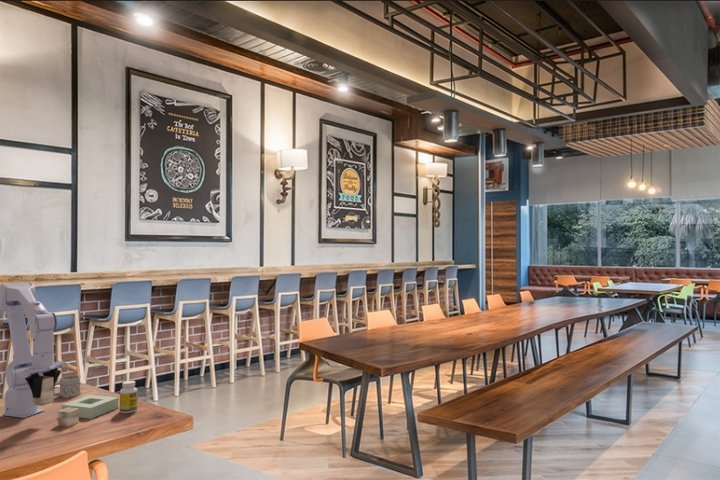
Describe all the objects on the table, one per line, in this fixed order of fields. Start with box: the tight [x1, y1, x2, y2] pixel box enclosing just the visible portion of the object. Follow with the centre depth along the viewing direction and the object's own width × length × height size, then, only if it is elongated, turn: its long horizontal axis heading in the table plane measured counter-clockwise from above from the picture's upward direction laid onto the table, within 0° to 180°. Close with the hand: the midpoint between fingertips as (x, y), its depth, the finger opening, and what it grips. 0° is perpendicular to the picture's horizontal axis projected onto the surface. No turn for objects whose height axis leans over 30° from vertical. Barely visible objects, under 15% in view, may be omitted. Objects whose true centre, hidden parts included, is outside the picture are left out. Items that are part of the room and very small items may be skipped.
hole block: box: [61, 394, 119, 420], centre depth 179 cm, size 12×12×4 cm
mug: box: [53, 374, 81, 399], centre depth 197 cm, size 10×7×7 cm
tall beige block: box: [32, 376, 54, 407], centre depth 167 cm, size 4×4×8 cm
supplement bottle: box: [119, 380, 138, 414], centre depth 179 cm, size 5×5×10 cm
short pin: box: [57, 407, 80, 428], centre depth 167 cm, size 4×4×4 cm
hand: (42, 395), depth 167 cm, fingers closed on tall beige block, 4 cm apart
